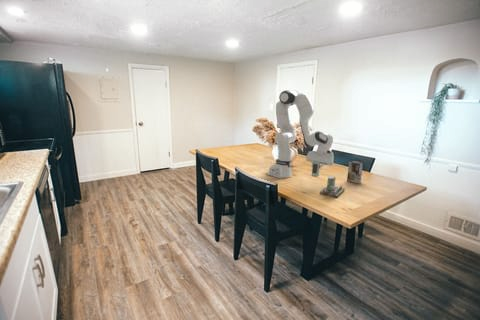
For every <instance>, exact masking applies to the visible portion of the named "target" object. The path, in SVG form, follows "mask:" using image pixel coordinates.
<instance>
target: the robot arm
mask: <svg viewBox="0 0 480 320" xmlns="http://www.w3.org/2000/svg"><path fill="white" fill-rule="evenodd" d="M278 99H279V100H278V101H277V102H276V103H275V117H276V122H277V123H276V124H277V126H278V128H279V129H280V132H278V133H277V134H275V136H274V143H275V144H277V151H278V154H277V159H275V163H273V164H272V165H270V167H269V168H268V170H267V171H266V174H265V175H269V176H271V177H275V178H277V179H281V178H282V179H283V178H284V179H285V178H291V177H293V174H292V150H291V146H290V144H291V143H293V142H295V140H296V139H297V133H296V132H295V130H294V127H293V125H292V121H291V113H290V107H291V106H293V105H295V106H296V108H297V111H298V115H299V125H300V130H301V133H302V137H303V144H304V146H305V147H307V148H313V147H315V146H318V147H317V149H316V150H315V151H314V150H309V151H308V152H307V155H306V156H305V160H306V162H311V168H312V167H313V162H314V161H317V162H320V166H319V167H318V168H319V170H321V169H322V167H324V166H329V167H330V166H331V167H332V166H333V163H334V157H335V155H334V152H333V151H331V150H330V149H331V148H332V146H333V142H334V138H333V137H334V136H333V135H332V134H330V133H324V132H323V131H321V130H317V131H314V132H313V133H311V131H310V127H309V122H310V119H311V118H312V116H313V115H314V107H313V104H312V102H311V99H310V98H309V96H308V94H307V93H304V92H301V93H299V92H298V91H297V90H293V89H292V90H291V89H289V90H287V89H286V90H283V91H282V92H280V94H279V98H278Z"/></svg>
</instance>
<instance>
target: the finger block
mask: <svg viewBox="0 0 480 320" xmlns="http://www.w3.org/2000/svg"><path fill="white" fill-rule="evenodd" d="M320 165H321V164H320V162H317V161H314V162H313V167H312V166H311V177H312V178H318V177H319V176H320V175H319V174H320V169H319V168H318V167H319V166H320Z"/></svg>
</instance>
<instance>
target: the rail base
mask: <svg viewBox="0 0 480 320" xmlns="http://www.w3.org/2000/svg"><path fill="white" fill-rule="evenodd" d="M344 191H345V188H344V187H343V185H341V184H340V185H339V186H336V177H335V176H328V177H327V184H326V186H325V187H324V188H323V189H322V190H320V191H319V194H320V195H323V196H327V197H332V198H335V199H337V198H339V197H340V195H342V193H344Z"/></svg>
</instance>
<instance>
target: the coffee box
mask: <svg viewBox="0 0 480 320" xmlns="http://www.w3.org/2000/svg"><path fill="white" fill-rule="evenodd" d="M363 167H364V162H360V161H355V160H351V161H348V169H347V176H346V177H347V178H346V181H347V182H352V183H355V184H359V183H361V181H362V175H363Z"/></svg>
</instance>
